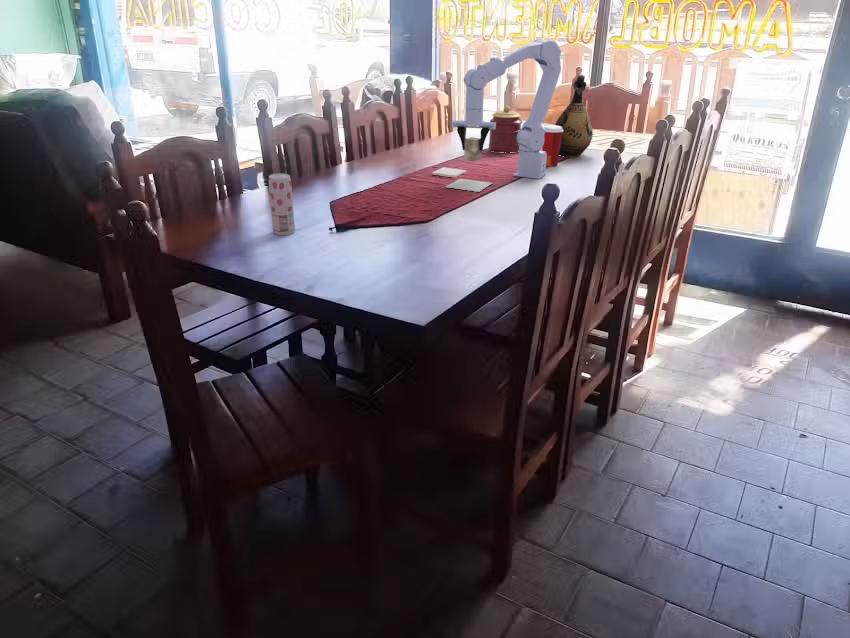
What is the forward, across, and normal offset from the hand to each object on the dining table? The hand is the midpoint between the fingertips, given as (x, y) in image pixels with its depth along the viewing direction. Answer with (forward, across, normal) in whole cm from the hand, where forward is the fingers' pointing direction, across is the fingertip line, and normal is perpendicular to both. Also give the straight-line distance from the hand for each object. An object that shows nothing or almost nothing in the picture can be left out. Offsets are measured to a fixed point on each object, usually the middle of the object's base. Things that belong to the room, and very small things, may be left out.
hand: (472, 150), depth 223 cm
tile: (+10, +4, -4) cm, 11 cm away
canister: (+10, -6, -50) cm, 51 cm away
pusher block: (+3, 0, 0) cm, 3 cm away
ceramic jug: (+10, -32, -48) cm, 59 cm away
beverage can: (+10, +40, +68) cm, 79 cm away
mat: (+10, -1, +10) cm, 14 cm away
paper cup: (+10, -25, -28) cm, 39 cm away
